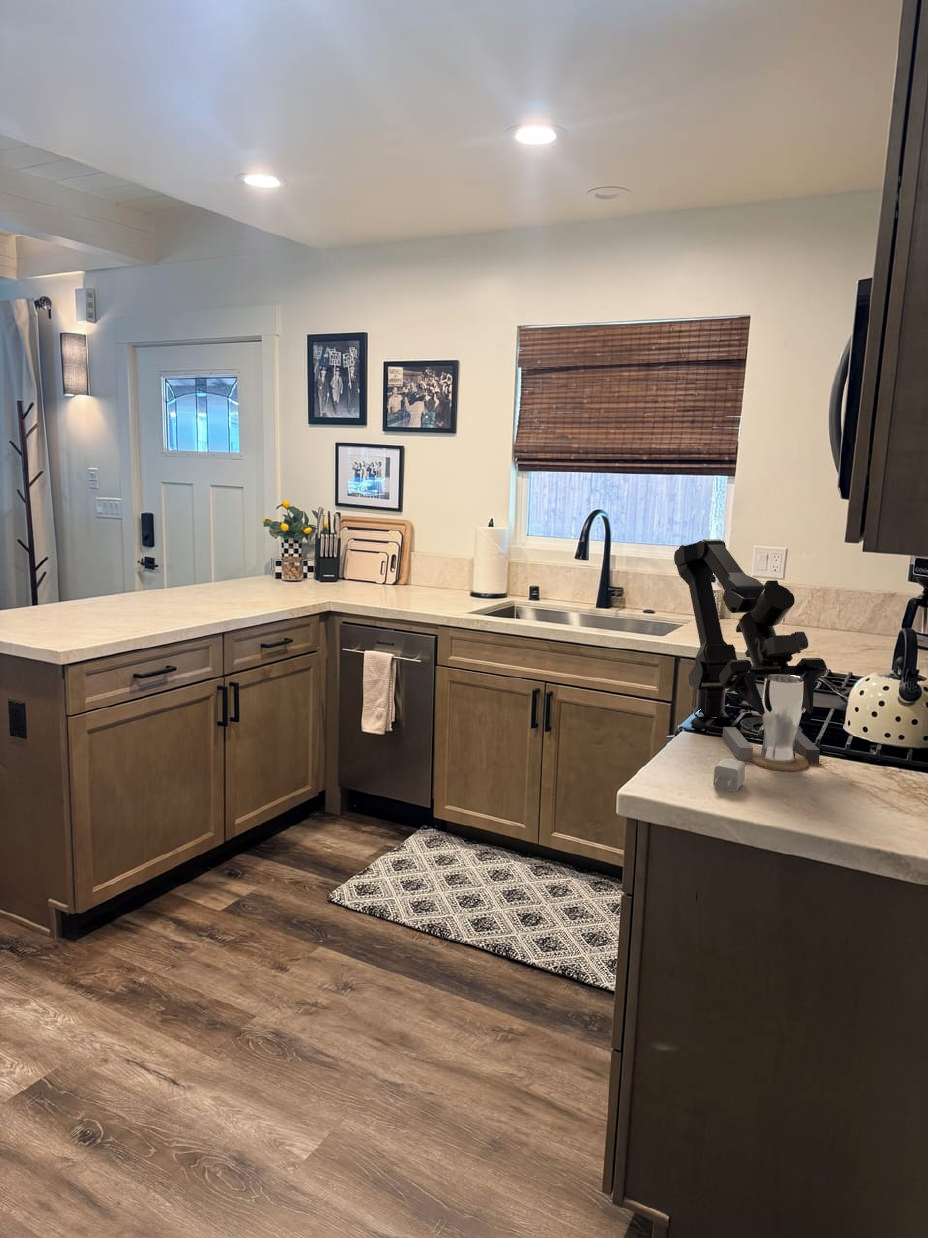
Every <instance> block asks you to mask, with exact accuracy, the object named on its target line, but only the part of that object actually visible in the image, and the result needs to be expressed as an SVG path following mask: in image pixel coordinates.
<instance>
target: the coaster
mask: <svg viewBox="0 0 928 1238" xmlns="http://www.w3.org/2000/svg"><path fill="white" fill-rule="evenodd" d="M761 749H762V748H760V749H756V750H753V754H752V757H751V762H752V763H753V764H754V765H757V766H759V767H762V768H764V769H769V770H773V771H777V772H778V771H780V772H800V771H803V770H806V769H807V768H808V767H809V762H808V760H807V759H805V758H804V757H803V756H802V755H799V754H797V753H796V752H795V756H796V760H795V761H794V762H792V763H774V762H770V761H767V760H764V759H763V758H761V756H760V753H761Z"/></svg>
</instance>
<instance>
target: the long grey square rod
mask: <svg viewBox="0 0 928 1238" xmlns="http://www.w3.org/2000/svg"><path fill="white" fill-rule="evenodd" d="M795 753H797V754H799V755H802V756H803V757H804V758H805V759H807V760H808V763H820V758H821V757H820V755H821V749H820V748H819V747H818V746H817V745H816V744H814V743H813V742H812V741H811V740H810V739H809V738H808V737H807V735H805V734H804V733H803V732H802V731H801V730H800V729H797V732H796V736H795Z"/></svg>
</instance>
